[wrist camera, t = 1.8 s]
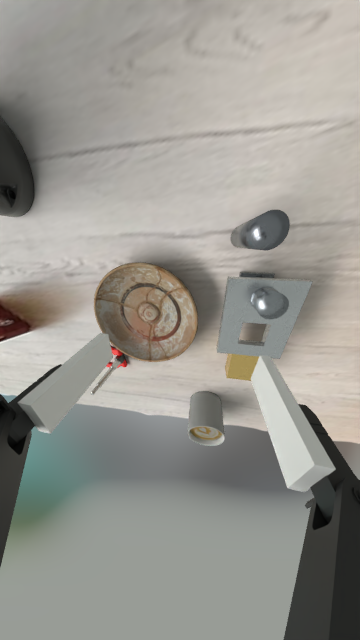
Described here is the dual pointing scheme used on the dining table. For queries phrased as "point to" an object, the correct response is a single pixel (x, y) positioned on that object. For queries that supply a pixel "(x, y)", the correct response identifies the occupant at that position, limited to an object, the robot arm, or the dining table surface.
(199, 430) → the coffee mug
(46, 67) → the dining table surface
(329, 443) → the robot arm
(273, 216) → the pin
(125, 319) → the ceramic bowl
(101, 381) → the tow hook
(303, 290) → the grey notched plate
